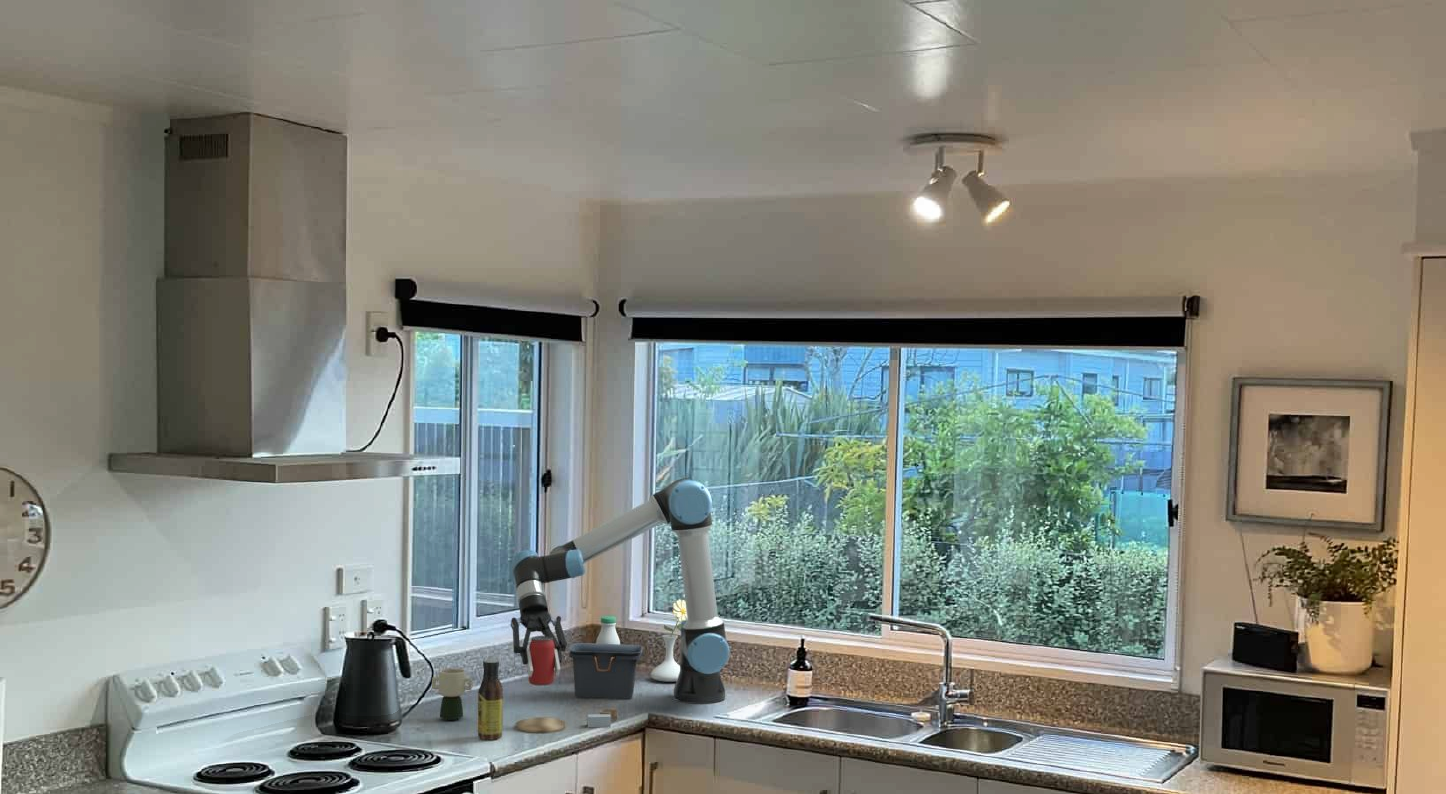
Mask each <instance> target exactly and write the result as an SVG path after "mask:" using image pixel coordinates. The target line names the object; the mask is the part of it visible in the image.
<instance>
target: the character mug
mask: <svg viewBox="0 0 1446 794" xmlns="http://www.w3.org/2000/svg"><path fill="white" fill-rule="evenodd" d="M436 681H438V685H436ZM466 682H468V686H466ZM431 688H432V689H433V690H438V694H439V695H440V696H441V697H442V699H441V705H440V711H439V717H440V719H442V720H451V721H452V720H458V719H460V718H463V717H464V711H463V709H464V708H463V700H462V697H461V696H463V695H465V692H466V691H472V690H473V679H472V678H471V677H466V670H465V669H464V668H458V667H457V668H456V667H455V668H443V669H440V670H439V671H438V676H433V677H432V678H431Z"/></svg>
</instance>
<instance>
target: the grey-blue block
mask: <svg viewBox="0 0 1446 794" xmlns="http://www.w3.org/2000/svg"><path fill="white" fill-rule="evenodd" d="M586 718H587V719H586V720H587V721H586V726H587V725H588V726H587V728H588V729H590V728H589V727H602V729H604V728H611V727H612V723H611V715H610V714H597V713H596V714H594V713H593V714H587V717H586ZM603 727H604V728H603Z"/></svg>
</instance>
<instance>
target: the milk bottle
mask: <svg viewBox="0 0 1446 794" xmlns="http://www.w3.org/2000/svg"><path fill="white" fill-rule="evenodd" d="M616 624H617V617H616V616H612V615H611V616H610V615H609V616H608V615H607V616H601V618H600V625H601V626H600V627H601V629H600V632H599V634H598V636H597V638H596V642H595V643H597V644H620V645H621V641H620V637H619V635H618V633H617V630H616Z"/></svg>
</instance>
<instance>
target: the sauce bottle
mask: <svg viewBox="0 0 1446 794" xmlns="http://www.w3.org/2000/svg"><path fill="white" fill-rule="evenodd" d="M482 666H483V675H482V681H481V683H480V685H479V689H478V691H477V736H478V738H479V740H483V741H496V740H499V739H500V738H501V737H502V736H503V734H502V733H503V720H504V719H503V717H504V715H503V714H504V713H503V712H504V709H503V707H504V706H503V705H504V703H503V702H504V696H503V695H504V694H503V685H502V684H503V683H502V682H501V681H500V678H499V676H500V675H499V668H500V660H499V659H497V658H496V659H495V658H488V659H484V660H483V661H482Z"/></svg>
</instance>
